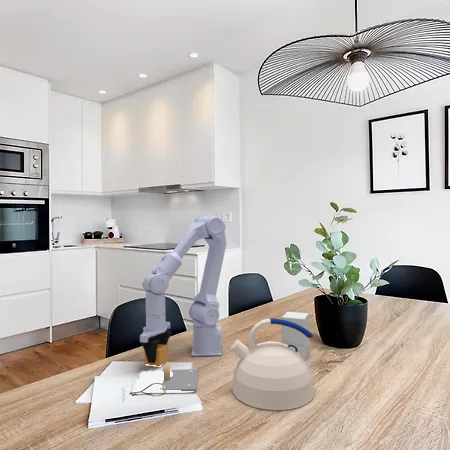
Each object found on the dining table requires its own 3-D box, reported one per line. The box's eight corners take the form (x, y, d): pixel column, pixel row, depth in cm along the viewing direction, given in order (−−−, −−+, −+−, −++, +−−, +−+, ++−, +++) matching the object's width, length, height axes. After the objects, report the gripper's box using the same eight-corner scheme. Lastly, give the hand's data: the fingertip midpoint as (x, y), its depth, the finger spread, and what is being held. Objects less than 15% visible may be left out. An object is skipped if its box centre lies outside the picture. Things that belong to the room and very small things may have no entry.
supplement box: (310, 352, 116) (310, 313, 116) (305, 360, 109) (304, 318, 109) (287, 349, 119) (287, 310, 119) (281, 357, 112) (281, 316, 112)
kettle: (231, 373, 101) (230, 308, 101) (306, 373, 100) (305, 308, 100) (230, 411, 81) (229, 331, 81) (323, 411, 80) (322, 330, 80)
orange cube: (153, 359, 111) (153, 343, 111) (167, 361, 110) (167, 345, 110) (144, 365, 107) (144, 348, 106) (159, 367, 105) (159, 350, 105)
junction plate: (198, 372, 101) (198, 356, 101) (196, 393, 89) (195, 374, 89) (141, 373, 101) (141, 357, 101) (131, 394, 89) (130, 376, 89)
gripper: (156, 307, 116) (156, 349, 116) (130, 318, 102) (131, 366, 103) (175, 308, 114) (176, 351, 114) (152, 320, 100) (152, 369, 100)
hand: (156, 358), depth 108 cm, fingers closed on orange cube, 5 cm apart
